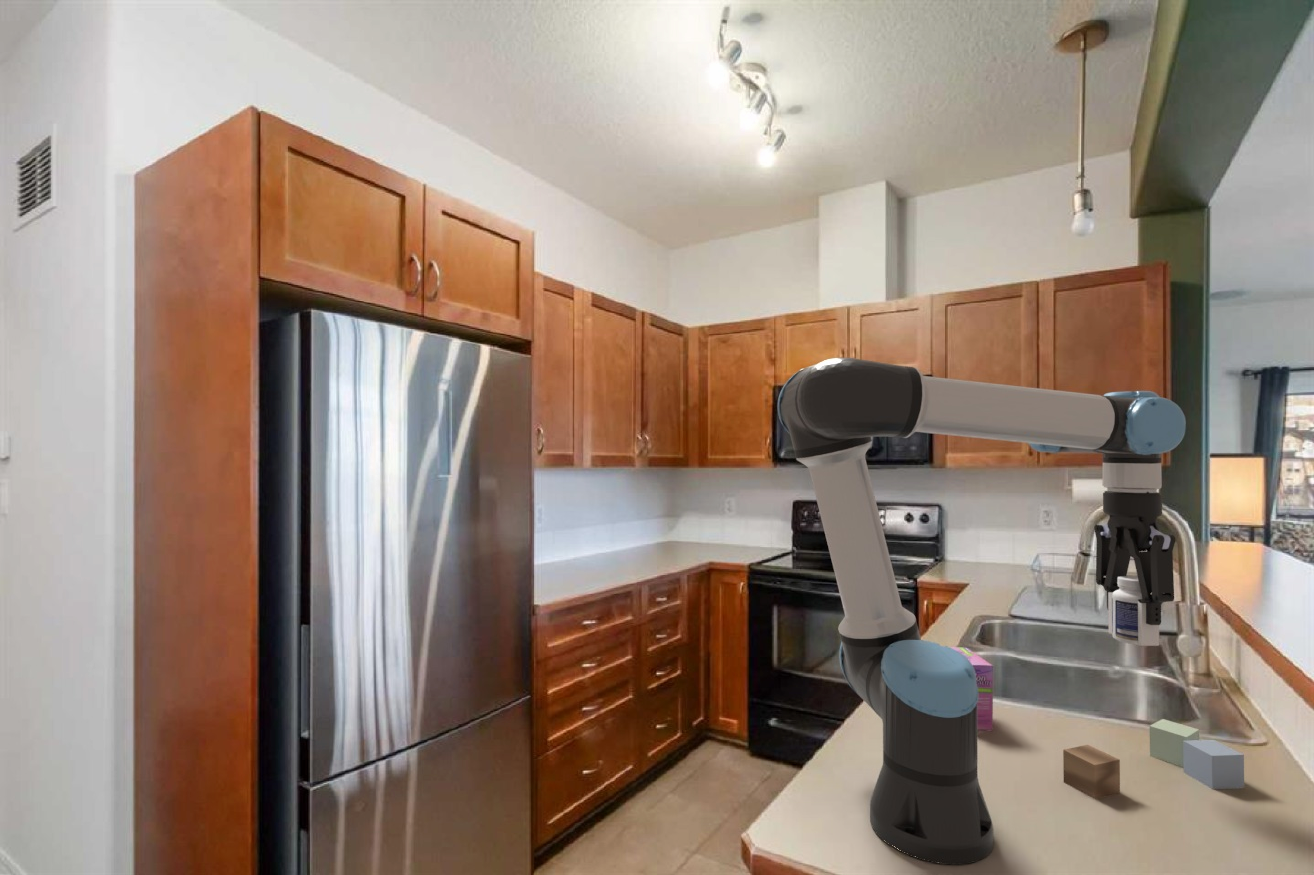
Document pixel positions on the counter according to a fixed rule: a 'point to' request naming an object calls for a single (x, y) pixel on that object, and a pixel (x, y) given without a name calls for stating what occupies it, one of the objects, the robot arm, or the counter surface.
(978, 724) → the box
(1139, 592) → the pill bottle
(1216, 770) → the slate blue cube
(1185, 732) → the sage cube
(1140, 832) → the counter surface
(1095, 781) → the walnut cube
